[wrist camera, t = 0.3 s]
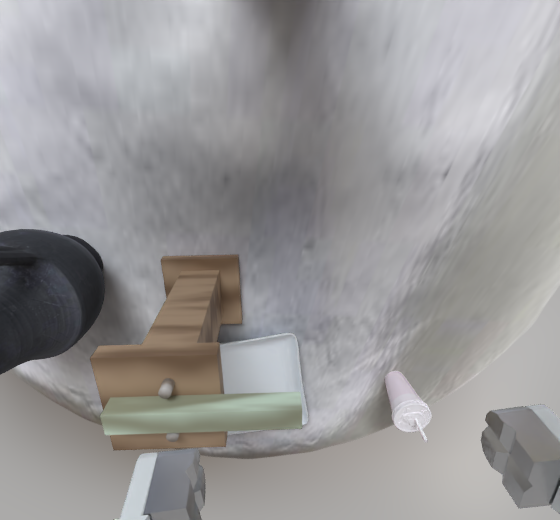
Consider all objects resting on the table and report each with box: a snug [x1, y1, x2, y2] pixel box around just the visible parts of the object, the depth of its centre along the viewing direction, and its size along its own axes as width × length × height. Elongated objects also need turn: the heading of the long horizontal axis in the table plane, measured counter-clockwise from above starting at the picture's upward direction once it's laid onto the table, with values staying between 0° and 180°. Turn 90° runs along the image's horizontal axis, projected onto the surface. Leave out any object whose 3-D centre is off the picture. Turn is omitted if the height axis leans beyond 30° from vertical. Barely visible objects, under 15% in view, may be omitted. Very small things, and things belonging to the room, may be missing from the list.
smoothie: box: [385, 371, 431, 442], centre depth 63 cm, size 6×6×14 cm
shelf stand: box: [90, 255, 242, 450], centre depth 48 cm, size 12×12×28 cm
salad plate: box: [220, 333, 308, 435], centre depth 67 cm, size 21×21×3 cm
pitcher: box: [0, 229, 105, 374], centre depth 44 cm, size 17×21×30 cm
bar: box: [100, 392, 302, 435], centre depth 36 cm, size 2×19×2 cm, turn 91°
